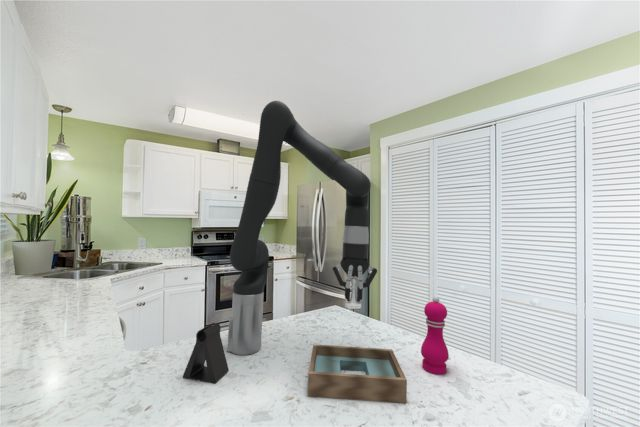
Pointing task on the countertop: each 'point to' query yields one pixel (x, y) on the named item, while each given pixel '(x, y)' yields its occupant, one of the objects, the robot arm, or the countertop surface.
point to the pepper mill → (435, 338)
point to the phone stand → (207, 356)
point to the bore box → (376, 385)
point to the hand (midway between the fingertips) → (353, 300)
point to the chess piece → (353, 296)
